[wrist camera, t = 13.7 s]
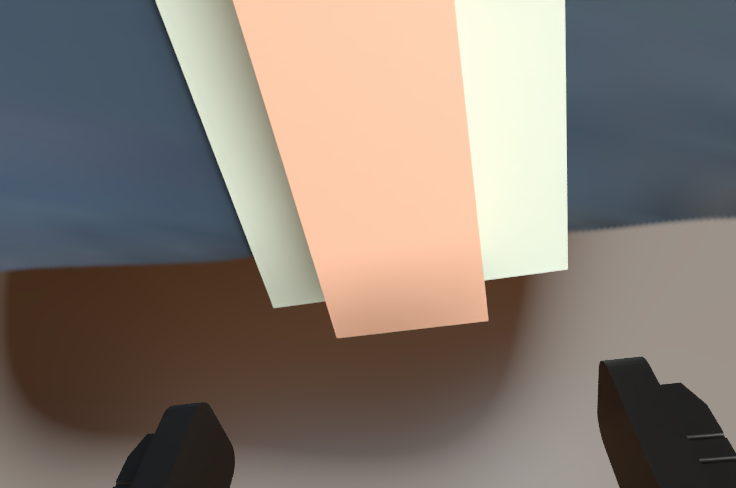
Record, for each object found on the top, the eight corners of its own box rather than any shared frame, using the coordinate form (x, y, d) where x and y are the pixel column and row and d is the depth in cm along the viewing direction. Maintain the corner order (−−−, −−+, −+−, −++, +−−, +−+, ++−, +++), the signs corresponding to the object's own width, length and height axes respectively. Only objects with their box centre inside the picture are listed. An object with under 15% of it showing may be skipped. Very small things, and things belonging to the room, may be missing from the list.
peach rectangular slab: (242, -118, 14) (193, -127, 11) (426, -166, 14) (434, -191, 10) (347, 269, 21) (336, 338, 18) (474, 252, 20) (488, 320, 17)
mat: (106, -152, 15) (95, -155, 14) (555, -282, 13) (561, -291, 12) (276, 299, 23) (273, 308, 22) (563, 260, 21) (567, 269, 20)
